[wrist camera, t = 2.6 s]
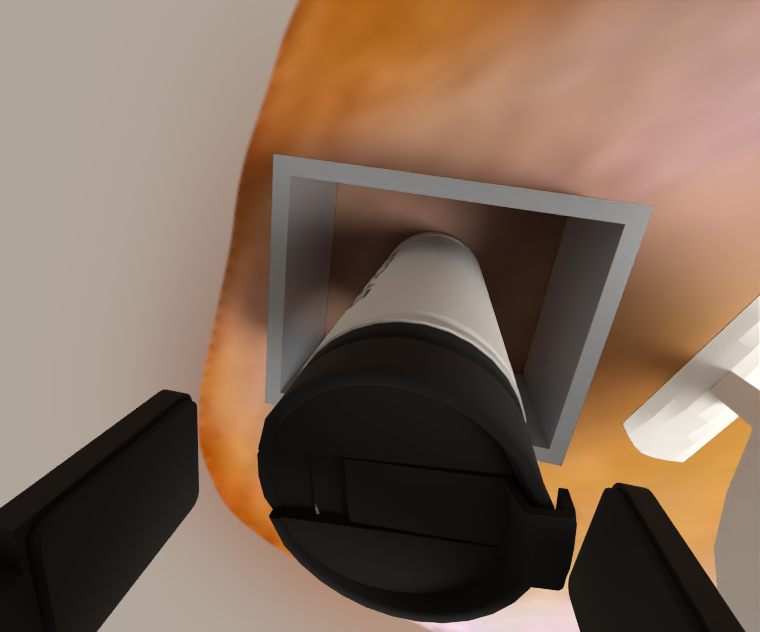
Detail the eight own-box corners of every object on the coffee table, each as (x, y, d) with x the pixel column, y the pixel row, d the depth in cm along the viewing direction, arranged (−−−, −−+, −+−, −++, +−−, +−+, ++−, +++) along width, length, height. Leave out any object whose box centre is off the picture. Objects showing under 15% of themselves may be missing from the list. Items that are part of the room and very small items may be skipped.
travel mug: (484, 325, 27) (561, 676, 8) (385, 323, 28) (250, 626, 9) (489, 229, 25) (608, 398, 6) (382, 231, 26) (200, 377, 7)
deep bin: (326, 160, 25) (273, 153, 17) (588, 196, 23) (654, 206, 16) (312, 344, 29) (265, 402, 22) (531, 387, 27) (561, 465, 20)
